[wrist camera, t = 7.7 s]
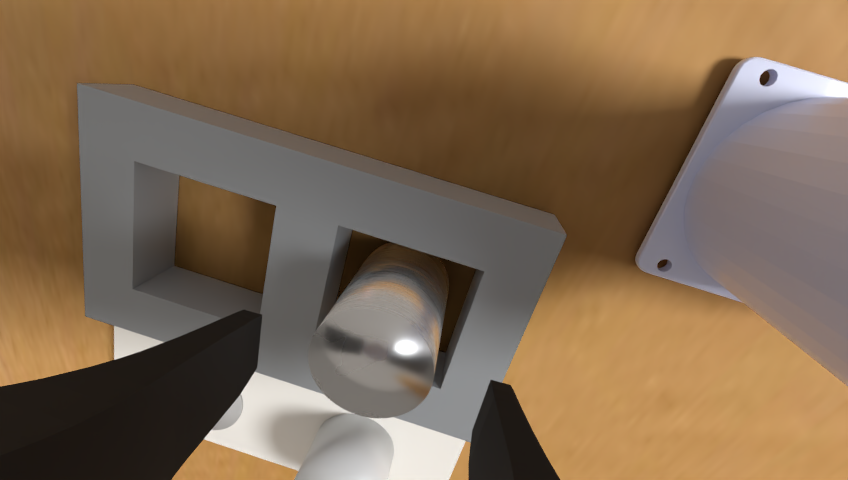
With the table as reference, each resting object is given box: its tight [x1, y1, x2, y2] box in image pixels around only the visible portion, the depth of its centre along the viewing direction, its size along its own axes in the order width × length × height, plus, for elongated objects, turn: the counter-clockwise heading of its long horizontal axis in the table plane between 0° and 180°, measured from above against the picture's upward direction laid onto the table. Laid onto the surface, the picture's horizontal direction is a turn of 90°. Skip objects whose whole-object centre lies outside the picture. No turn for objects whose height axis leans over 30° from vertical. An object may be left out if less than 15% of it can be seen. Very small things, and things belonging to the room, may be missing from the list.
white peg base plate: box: [114, 326, 465, 480], centre depth 20 cm, size 18×6×4 cm, turn 74°
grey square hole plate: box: [77, 83, 567, 442], centre depth 17 cm, size 18×10×2 cm, turn 74°
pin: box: [308, 242, 449, 418], centre depth 15 cm, size 4×4×6 cm
